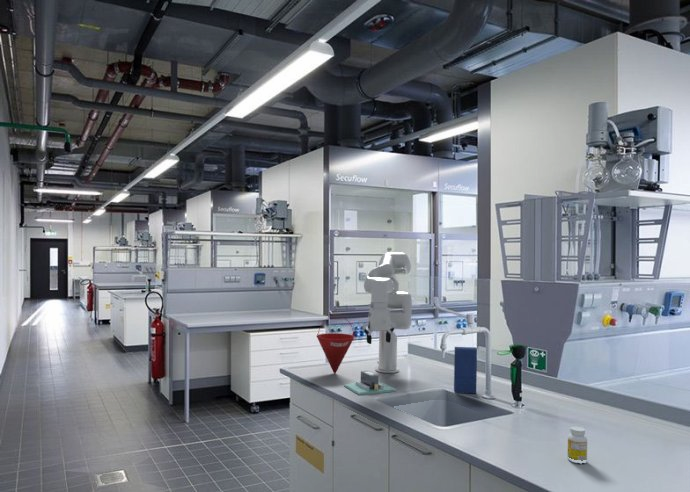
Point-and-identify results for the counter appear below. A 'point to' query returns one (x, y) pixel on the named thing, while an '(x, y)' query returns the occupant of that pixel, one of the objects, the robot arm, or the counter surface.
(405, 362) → the counter surface
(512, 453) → the counter surface
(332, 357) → the fire bucket
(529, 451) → the counter surface
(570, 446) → the supplement bottle
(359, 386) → the docking tray
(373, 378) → the block
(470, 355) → the electronic device
